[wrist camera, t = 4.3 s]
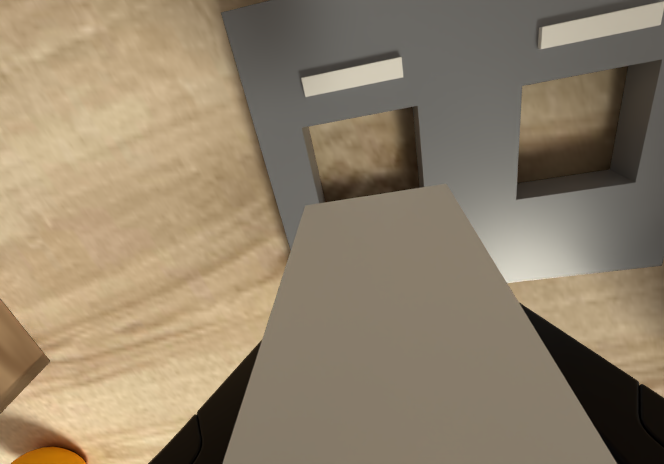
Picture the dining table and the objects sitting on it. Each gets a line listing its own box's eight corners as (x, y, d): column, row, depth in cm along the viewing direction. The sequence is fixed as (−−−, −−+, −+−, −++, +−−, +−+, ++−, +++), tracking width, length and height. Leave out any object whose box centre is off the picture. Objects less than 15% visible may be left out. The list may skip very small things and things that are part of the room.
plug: (445, 162, 9) (895, 800, 2) (451, 297, 12) (655, 860, 4) (300, 186, 10) (83, 736, 2) (331, 310, 12) (281, 816, 4)
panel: (720, -104, 14) (782, -129, 12) (636, 246, 21) (665, 268, 19) (235, 15, 17) (218, 12, 15) (310, 286, 24) (306, 308, 22)
